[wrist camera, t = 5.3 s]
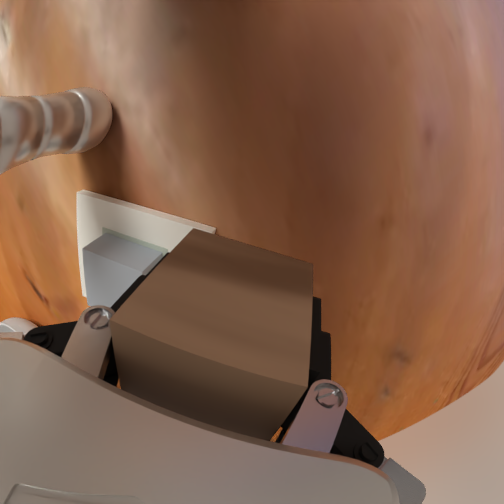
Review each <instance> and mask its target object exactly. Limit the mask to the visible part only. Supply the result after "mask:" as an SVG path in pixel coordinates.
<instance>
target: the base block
mask: <svg viewBox="0 0 504 504" xmlns="http://www.w3.org/2000/svg"><path fill="white" fill-rule="evenodd" d="M82 252H83V266H84V277H85V287H86V295H87V303H88V305H89V306H96V305H102V306H106V307H109V308H110V307H111V306H112V305H113V304H114V303H115V302H116V301H117V300H118V299H119V298H120V296H121V295H122V294H123V293H124V292H125V291H126V290H127V289H128V288H129V287H130V286H131V285H132V284H133V282H134V281H135V280H136V279H137V278H138V277H139V276H141V275H145V276H146V275H147V274H148V272H149V271H150V270H151V269H152V268H153V267H154V266H155V265H156V264H157V263H158V262H159V261H160V260H161V259H162V252H160V251H157V250H154V249H151V248H148V247H145V246H142V245H139V244H136V243H134V242H131V241H128V240H125V239H122V238H119V237H116V236H113V235H111V234H108V233H105V234H103V235H102V236H100V237H99V238H97V239H96V240H94V241H93V242H91V243H90V244H88V245H87V246H85V247H84V248H82Z"/></svg>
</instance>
